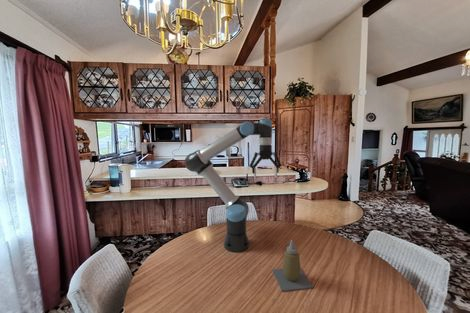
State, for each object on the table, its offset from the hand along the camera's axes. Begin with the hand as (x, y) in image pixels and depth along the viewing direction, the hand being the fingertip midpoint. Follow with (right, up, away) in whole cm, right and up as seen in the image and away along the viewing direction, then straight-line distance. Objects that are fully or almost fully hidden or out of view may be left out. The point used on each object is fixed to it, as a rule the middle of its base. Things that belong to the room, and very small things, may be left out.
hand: (265, 178), depth 134 cm
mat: (+7, -43, -36) cm, 56 cm away
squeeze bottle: (+7, -43, -36) cm, 56 cm away
